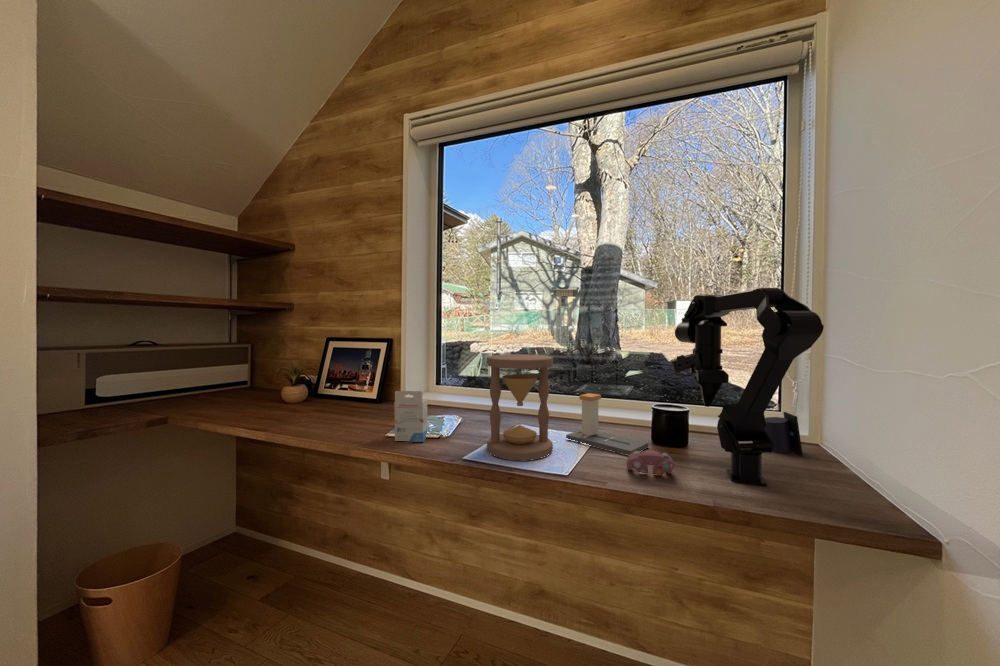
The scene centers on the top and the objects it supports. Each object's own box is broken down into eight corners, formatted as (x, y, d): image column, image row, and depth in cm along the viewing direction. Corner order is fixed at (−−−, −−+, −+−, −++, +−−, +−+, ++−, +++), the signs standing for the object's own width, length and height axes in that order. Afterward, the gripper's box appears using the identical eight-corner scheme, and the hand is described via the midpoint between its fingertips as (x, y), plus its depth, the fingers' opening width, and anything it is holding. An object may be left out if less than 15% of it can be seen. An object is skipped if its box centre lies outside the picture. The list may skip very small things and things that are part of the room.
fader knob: (600, 433, 112) (600, 394, 112) (591, 436, 108) (591, 397, 108) (588, 430, 115) (589, 393, 114) (579, 433, 111) (579, 395, 111)
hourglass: (551, 441, 111) (552, 354, 110) (553, 462, 93) (554, 360, 93) (491, 439, 112) (491, 354, 112) (482, 460, 95) (482, 359, 94)
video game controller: (627, 480, 87) (628, 457, 83) (625, 465, 90) (627, 442, 87) (674, 484, 84) (677, 461, 81) (670, 468, 88) (673, 445, 85)
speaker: (798, 449, 102) (794, 411, 102) (803, 457, 97) (799, 416, 97) (764, 447, 106) (760, 410, 106) (767, 455, 101) (763, 416, 101)
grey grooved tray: (648, 448, 104) (648, 442, 104) (631, 457, 97) (631, 450, 97) (585, 433, 118) (585, 427, 118) (566, 439, 111) (566, 434, 111)
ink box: (428, 438, 113) (428, 388, 113) (423, 443, 108) (423, 391, 108) (400, 437, 114) (400, 387, 114) (394, 442, 109) (393, 390, 109)
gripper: (670, 342, 108) (669, 397, 108) (675, 345, 90) (674, 411, 91) (715, 343, 104) (714, 400, 104) (729, 346, 86) (728, 415, 87)
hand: (707, 406), depth 97 cm, fingers closed
